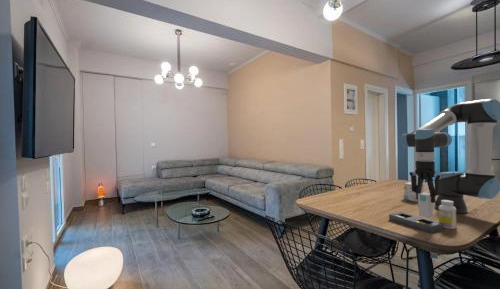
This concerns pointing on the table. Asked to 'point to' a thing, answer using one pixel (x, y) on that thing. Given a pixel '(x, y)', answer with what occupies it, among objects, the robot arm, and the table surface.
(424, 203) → the plug
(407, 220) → the panel
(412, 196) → the ink box
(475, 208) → the table surface
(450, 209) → the supplement bottle
